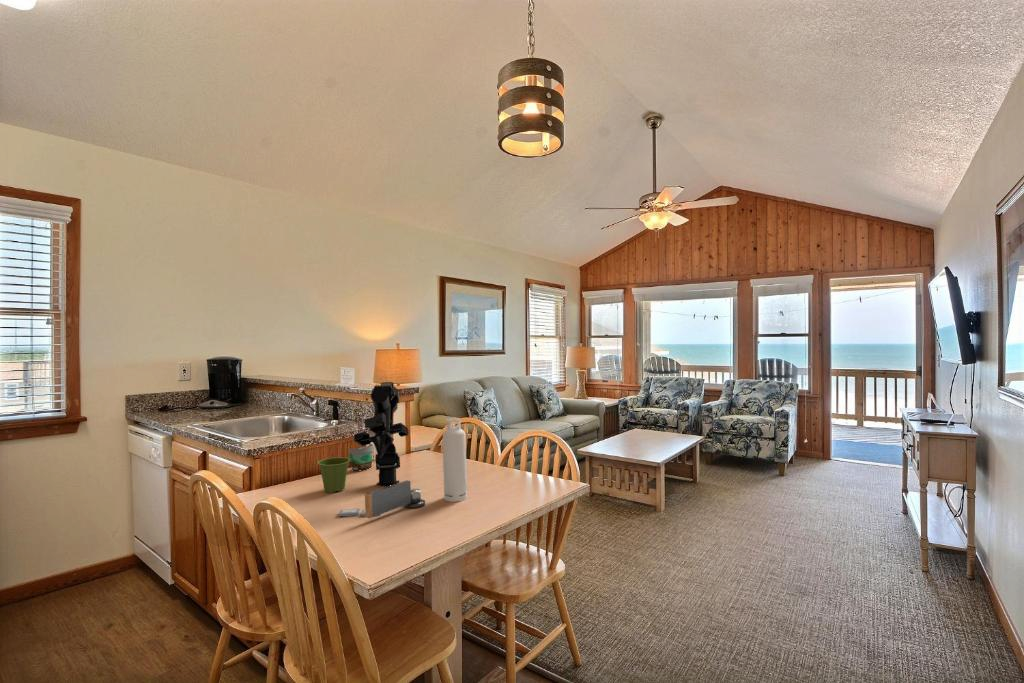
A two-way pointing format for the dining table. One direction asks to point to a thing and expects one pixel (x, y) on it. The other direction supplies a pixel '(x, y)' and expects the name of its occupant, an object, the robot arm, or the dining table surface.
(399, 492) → the swing bar
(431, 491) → the dining table surface
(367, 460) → the food container
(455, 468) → the bottle
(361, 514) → the label plaque
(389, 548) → the dining table surface
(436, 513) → the dining table surface
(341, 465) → the plant pot
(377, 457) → the robot arm
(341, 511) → the label plaque
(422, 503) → the pivot base
